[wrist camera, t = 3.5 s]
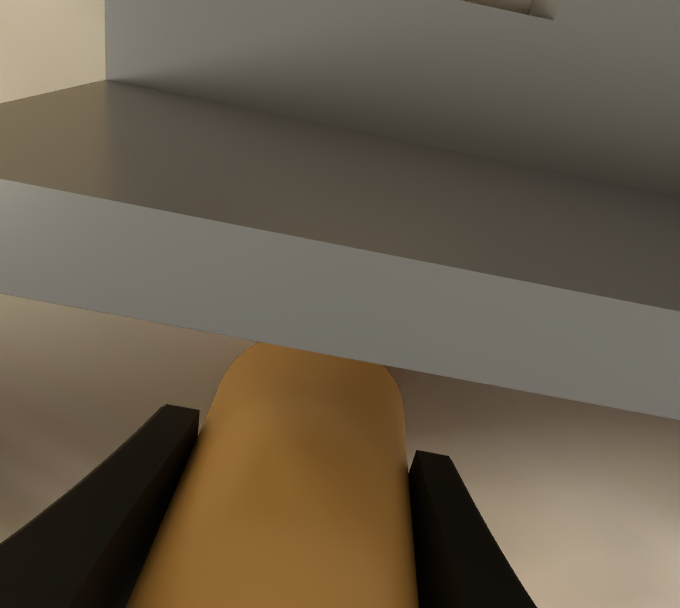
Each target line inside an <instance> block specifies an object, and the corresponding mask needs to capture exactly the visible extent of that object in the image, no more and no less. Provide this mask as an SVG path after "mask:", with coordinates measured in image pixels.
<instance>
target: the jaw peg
mask: <svg viewBox="0 0 680 608" xmlns="http://www.w3.org/2000/svg"><path fill="white" fill-rule="evenodd" d="M126 608H419V604H418V591H417V578H416V565H415V552H414V539H413V526H412V513H411V500H410V487H409V474H408V461H407V449H406V436H405V423H404V410H403V401H402V397H401V394H400V391H399V388H398V386H397V384H396V382H395V380H394V379H393V377H392V376H391V374H390V373H389V371H388V370H387V369H386V368H385V367H384V366H383V365H381V364H376V363H370V362H365V361H360V360H354V359H349V358H343V357H338V356H333V355H327V354H322V353H317V352H311V351H306V350H301V349H295V348H290V347H284V346H279V345H274V344H268V343H263V342H260V343H258V344H256V345H254V346H252V347H251V348H249V349H248V350H246V351H245V352H243V353H242V354H241V355H240V356H239V357H238V358H237V359H235V360H234V362H233V363H232V364H231V365H230V367H229V368H228V369H227V371H226V373H225V375H224V376H223V378H222V381H221V383H220V385H219V388H218V390H217V393H216V395H215V397H214V400H213V402H212V404H211V407H210V409H209V411H208V414H207V416H206V419H205V421H204V423H203V426H202V428H201V430H200V433H199V435H198V438H197V440H196V442H195V445H194V447H193V449H192V452H191V454H190V456H189V459H188V461H187V464H186V466H185V468H184V471H183V473H182V475H181V478H180V480H179V482H178V485H177V487H176V490H175V492H174V494H173V497H172V499H171V501H170V504H169V506H168V508H167V511H166V513H165V516H164V518H163V520H162V523H161V525H160V527H159V530H158V532H157V535H156V537H155V539H154V542H153V544H152V546H151V549H150V551H149V553H148V556H147V558H146V561H145V563H144V565H143V568H142V570H141V572H140V575H139V577H138V579H137V582H136V584H135V587H134V589H133V591H132V594H131V596H130V598H129V601H128V603H127V606H126Z"/></svg>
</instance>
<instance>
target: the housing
mask: <svg viewBox="0 0 680 608" xmlns="http://www.w3.org/2000/svg"><path fill="white" fill-rule="evenodd" d="M105 51H106V80H103V81H98V82H94V83H89V84H85V85H80V86H76V87H72V88H67V89H63V90H58V91H54V92H50V93H45V94H41V95H36V96H32V97H27V98H23V99H19V100H14V101H10V102H5V103H1V104H0V294H6V295H11V296H16V297H22V298H27V299H32V300H38V301H43V302H49V303H54V304H59V305H65V306H70V307H75V308H81V309H86V310H91V311H97V312H102V313H108V314H113V315H118V316H124V317H129V318H134V319H140V320H145V321H150V322H156V323H161V324H166V325H172V326H177V327H183V328H188V329H193V330H199V331H204V332H209V333H215V334H220V335H225V336H231V337H236V338H242V339H247V340H252V341H258V342H263V343H268V344H274V345H279V346H284V347H290V348H295V349H301V350H306V351H311V352H317V353H322V354H327V355H333V356H338V357H343V358H349V359H354V360H360V361H365V362H370V363H376V364H381V365H386V366H392V367H397V368H402V369H408V370H413V371H418V372H424V373H429V374H435V375H440V376H445V377H451V378H456V379H461V380H467V381H472V382H477V383H483V384H488V385H494V386H499V387H504V388H510V389H515V390H520V391H526V392H531V393H536V394H542V395H547V396H553V397H558V398H563V399H569V400H574V401H579V402H585V403H590V404H595V405H601V406H606V407H611V408H617V409H622V410H628V411H633V412H638V413H644V414H649V415H654V416H660V417H665V418H670V419H676V420H680V0H533V3H532V6H531V9H530V12H529V15H526V14H522V13H517V12H513V11H508V10H503V9H499V8H494V7H490V6H485V5H480V4H476V3H471V2H467V1H462V0H105Z"/></svg>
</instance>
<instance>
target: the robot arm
mask: <svg viewBox="0 0 680 608" xmlns="http://www.w3.org/2000/svg"><path fill="white" fill-rule="evenodd" d="M199 413H200V410H196V409H190V408H185V407H179V406H174V405H169V404H166V405H165V406H163V407H161V408H160V409H159V410H158V411H157V412H156V413H155V414H154V415H153V416H152V417H151V418H150V419H149V420H148V421H147V422H146V423H145V424H144V425H143V426H141V427H140V428H139V429H138V430H137V431H136V432H135V433H134V434H133V435H132V436H131V437H130V438H129V439H128V440H127V441H126V442H124V443H123V444H122V445H121V446H120V447H119V448H118V449H117V450H116V451H115V452H114V453H112V454H111V455H110V456H109V457H108V458H107V459H106V460H104V461H103V462H102V463H101V464H100V465H99V466H98V467H96V468H95V469H94V470H93V471H92V472H91V473H89V474H88V475H87V476H86V477H85V478H84V479H82V480H81V481H80V482H79V483H78V484H77V485H75V486H74V487H73V488H72V489H71V490H69V491H68V492H67V493H66V494H64V495H63V496H62V497H61V498H59V499H58V500H57V501H55V502H54V503H53V504H52V505H50V506H49V507H48V508H47V509H45V510H44V511H43V512H41V513H40V514H39V515H38V516H36V517H35V518H34V519H33V520H31V521H30V522H29V523H27V524H26V525H25V526H23V527H22V528H21V529H19V530H18V531H17V532H15V533H14V534H13V535H11V536H10V537H9V538H7V539H6V540H4V541H3V542H2V543H0V608H126V606H127V603H128V601H129V598H130V596H131V594H132V591H133V589H134V587H135V584H136V582H137V579H138V577H139V575H140V572H141V570H142V568H143V565H144V563H145V561H146V558H147V556H148V553H149V551H150V549H151V546H152V544H153V542H154V539H155V537H156V535H157V532H158V530H159V527H160V525H161V523H162V520H163V518H164V516H165V513H166V511H167V508H168V506H169V504H170V501H171V499H172V497H173V494H174V492H175V490H176V487H177V485H178V482H179V480H180V478H181V475H182V473H183V471H184V468H185V466H186V464H187V461H188V459H189V456H190V454H191V452H192V449H193V447H194V445H195V442H196V440H197V437H198V425H199ZM409 487H410V500H411V513H412V526H413V539H414V552H415V565H416V578H417V591H418V604H419V608H537V607H536V605H535V604H534V602H533V601H532V599H531V598H530V596H529V595H528V593H527V592H526V590H525V589H524V587H523V585H522V584H521V582H520V581H519V579H518V577H517V576H516V574H515V573H514V571H513V569H512V568H511V566H510V564H509V563H508V561H507V559H506V558H505V556H504V554H503V553H502V551H501V549H500V547H499V546H498V544H497V542H496V541H495V539H494V537H493V536H492V534H491V532H490V530H489V529H488V527H487V525H486V523H485V522H484V520H483V518H482V516H481V514H480V512H479V511H478V509H477V507H476V505H475V503H474V502H473V500H472V498H471V496H470V494H469V492H468V490H467V488H466V486H465V485H464V483H463V481H462V479H461V477H460V475H459V473H458V471H457V469H456V467H455V465H454V464H453V462H452V460H451V459H450V457H449V456H446V455H441V454H435V453H430V452H424V451H419V450H416V453H415V456H414V459H413V462H412V465H411V468H410V471H409Z"/></svg>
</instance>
